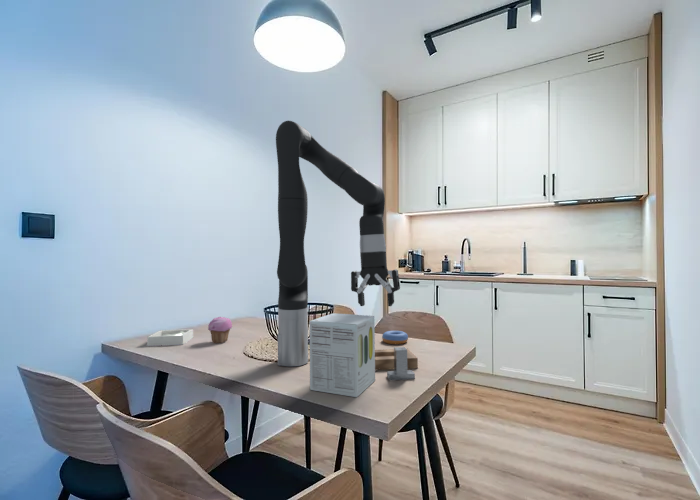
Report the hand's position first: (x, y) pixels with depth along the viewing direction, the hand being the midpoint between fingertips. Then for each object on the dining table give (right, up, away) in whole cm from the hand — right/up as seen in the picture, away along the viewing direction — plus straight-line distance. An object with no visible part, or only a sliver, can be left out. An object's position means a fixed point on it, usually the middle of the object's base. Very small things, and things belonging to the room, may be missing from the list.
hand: (376, 305), depth 106 cm
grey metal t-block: (+6, -19, -7) cm, 21 cm away
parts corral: (-79, -20, +39) cm, 90 cm away
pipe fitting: (-79, -21, +39) cm, 90 cm away
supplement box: (-9, -19, -12) cm, 24 cm away
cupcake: (-59, -20, +37) cm, 72 cm away
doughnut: (+10, -20, +34) cm, 41 cm away
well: (+2, -19, +6) cm, 20 cm away
